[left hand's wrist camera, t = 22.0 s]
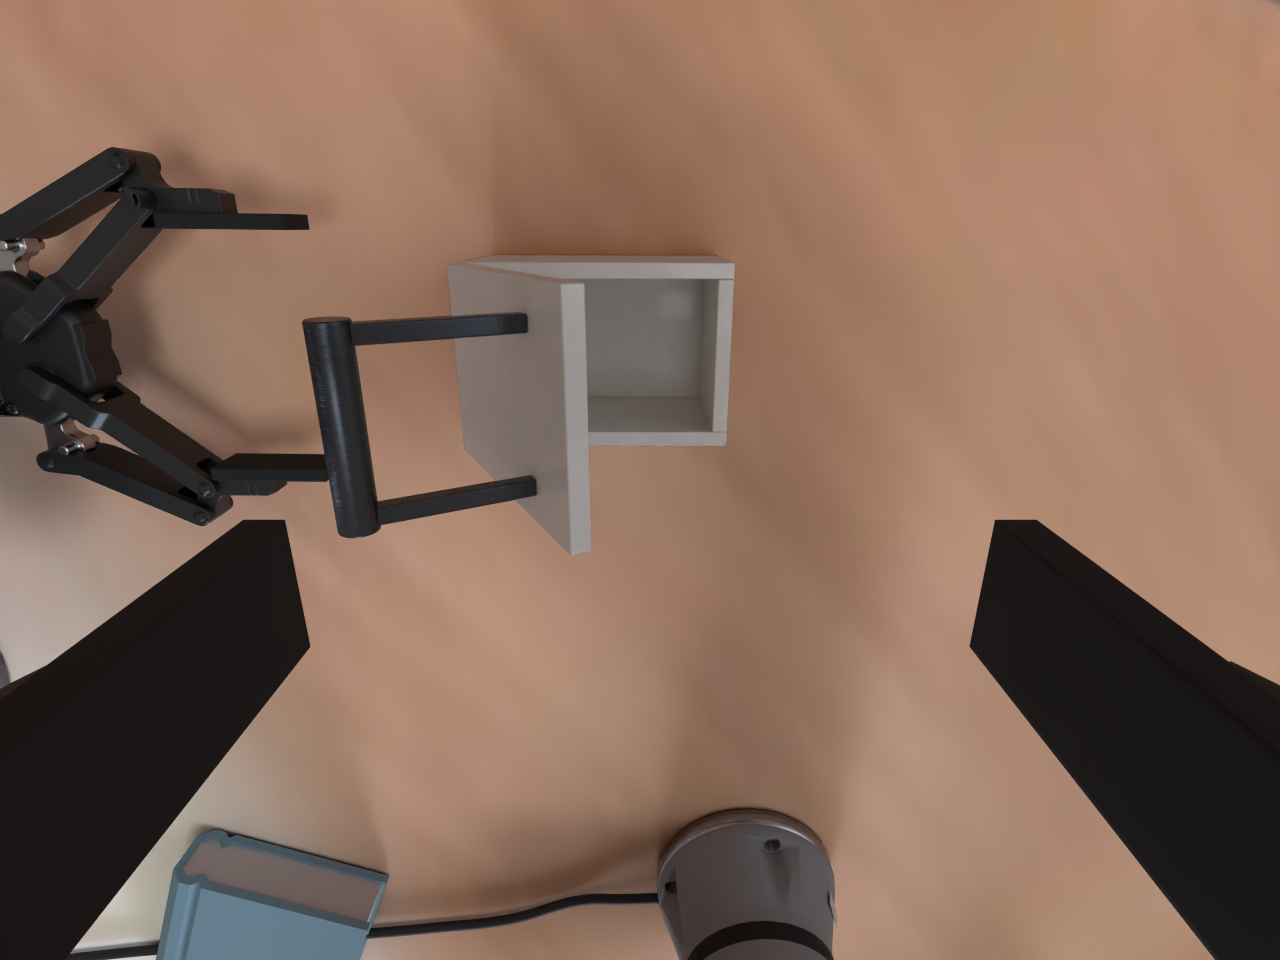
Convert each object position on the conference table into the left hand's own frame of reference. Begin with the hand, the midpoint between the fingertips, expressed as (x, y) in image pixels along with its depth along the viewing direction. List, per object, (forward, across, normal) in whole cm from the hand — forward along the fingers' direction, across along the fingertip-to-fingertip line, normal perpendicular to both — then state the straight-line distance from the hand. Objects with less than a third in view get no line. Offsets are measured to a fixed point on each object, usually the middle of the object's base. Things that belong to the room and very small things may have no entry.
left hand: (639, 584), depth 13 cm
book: (+33, +34, +55) cm, 73 cm away
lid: (+17, +5, 0) cm, 18 cm away
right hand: (+26, +18, 0) cm, 32 cm away
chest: (+33, +2, 0) cm, 33 cm away
